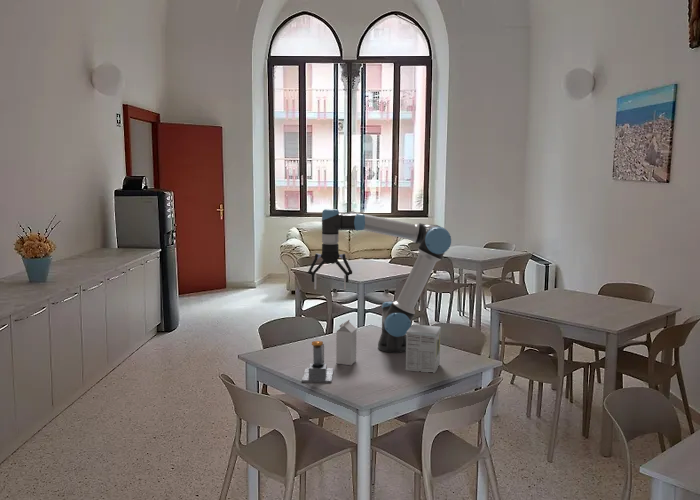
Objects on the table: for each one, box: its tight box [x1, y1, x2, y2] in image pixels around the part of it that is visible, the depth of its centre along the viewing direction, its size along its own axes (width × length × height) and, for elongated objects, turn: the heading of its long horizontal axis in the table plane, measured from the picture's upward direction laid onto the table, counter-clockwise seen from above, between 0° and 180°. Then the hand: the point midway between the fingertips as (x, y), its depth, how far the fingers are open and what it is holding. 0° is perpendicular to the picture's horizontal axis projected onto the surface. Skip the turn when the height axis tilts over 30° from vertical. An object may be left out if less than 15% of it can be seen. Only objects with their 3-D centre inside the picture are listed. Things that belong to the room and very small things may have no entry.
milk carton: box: [335, 319, 357, 366], centre depth 280 cm, size 7×7×19 cm
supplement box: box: [405, 324, 442, 374], centre depth 274 cm, size 13×13×18 cm
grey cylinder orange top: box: [311, 340, 324, 368], centre depth 260 cm, size 5×5×14 cm
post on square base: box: [301, 343, 334, 384], centre depth 262 cm, size 12×16×12 cm
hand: (330, 289), depth 287 cm, fingers open, 13 cm apart
